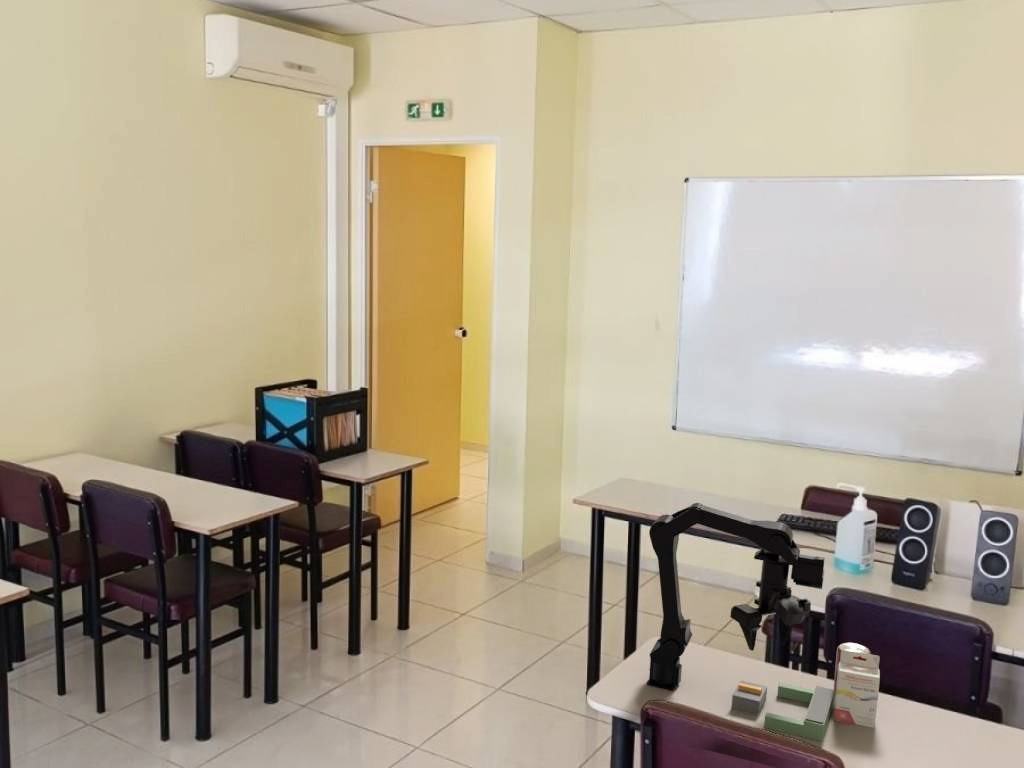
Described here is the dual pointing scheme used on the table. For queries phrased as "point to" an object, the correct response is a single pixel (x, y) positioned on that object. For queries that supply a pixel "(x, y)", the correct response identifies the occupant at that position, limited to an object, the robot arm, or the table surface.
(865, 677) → the ink cartridge box
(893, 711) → the table surface
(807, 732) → the green grey u-shaped block
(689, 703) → the table surface
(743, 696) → the grey block orange top
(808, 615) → the robot arm
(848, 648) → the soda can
